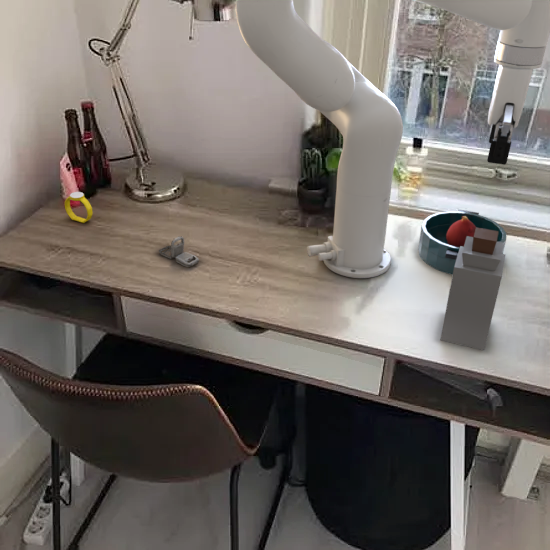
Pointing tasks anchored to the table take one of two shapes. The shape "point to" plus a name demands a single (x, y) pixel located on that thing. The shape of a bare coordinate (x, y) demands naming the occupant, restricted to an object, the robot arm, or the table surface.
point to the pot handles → (452, 253)
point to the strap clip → (179, 253)
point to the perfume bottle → (474, 290)
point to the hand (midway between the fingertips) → (497, 153)
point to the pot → (436, 242)
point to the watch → (80, 197)
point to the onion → (460, 232)
